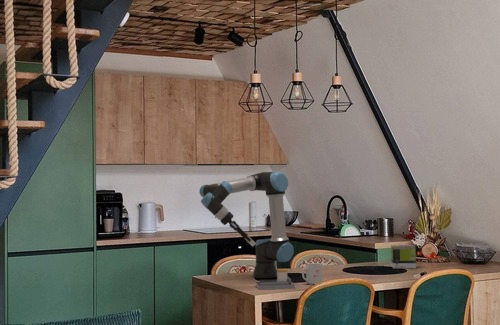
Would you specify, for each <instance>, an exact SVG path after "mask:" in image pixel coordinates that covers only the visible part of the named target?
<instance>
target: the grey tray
mask: <svg viewBox="0 0 500 325" xmlns="http://www.w3.org/2000/svg"><path fill="white" fill-rule="evenodd" d="M255 286H256V288H257V289H258V290H260V291H261V289H263V290H287V289H289V290H290V289H291V290H292V288H293V289H296V284H295V283H294V282H292V278H290V277H289V276H287V281H280V282H277V279H259V281H257V282H255Z"/></svg>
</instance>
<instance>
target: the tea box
mask: <svg viewBox="0 0 500 325" xmlns="http://www.w3.org/2000/svg"><path fill="white" fill-rule="evenodd" d="M390 249H391V257H390V258H391V267H392V269H417V256H416V255H417V254H416V253H417V251H416V250H417V249H416V245H414V244H391V245H390Z"/></svg>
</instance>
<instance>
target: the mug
mask: <svg viewBox="0 0 500 325" xmlns="http://www.w3.org/2000/svg"><path fill="white" fill-rule="evenodd" d="M301 272H302V273H301V277H302V279H303V280H304V281H305V282H306V284H307V285H309V286H311V285H312V286H314V285H313V284H315V283H318V282H321V281H322V280H323V279H322V277H323V276H322V274H323V273H322V272H323V271H322V263H306V264H305V267H302V268H301ZM321 283H322V282H321Z"/></svg>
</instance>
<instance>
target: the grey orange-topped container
mask: <svg viewBox="0 0 500 325" xmlns="http://www.w3.org/2000/svg"><path fill="white" fill-rule="evenodd" d="M276 269H277V277H276V280H277V282H280V281H287V277H288V269H287V268H276Z"/></svg>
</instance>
